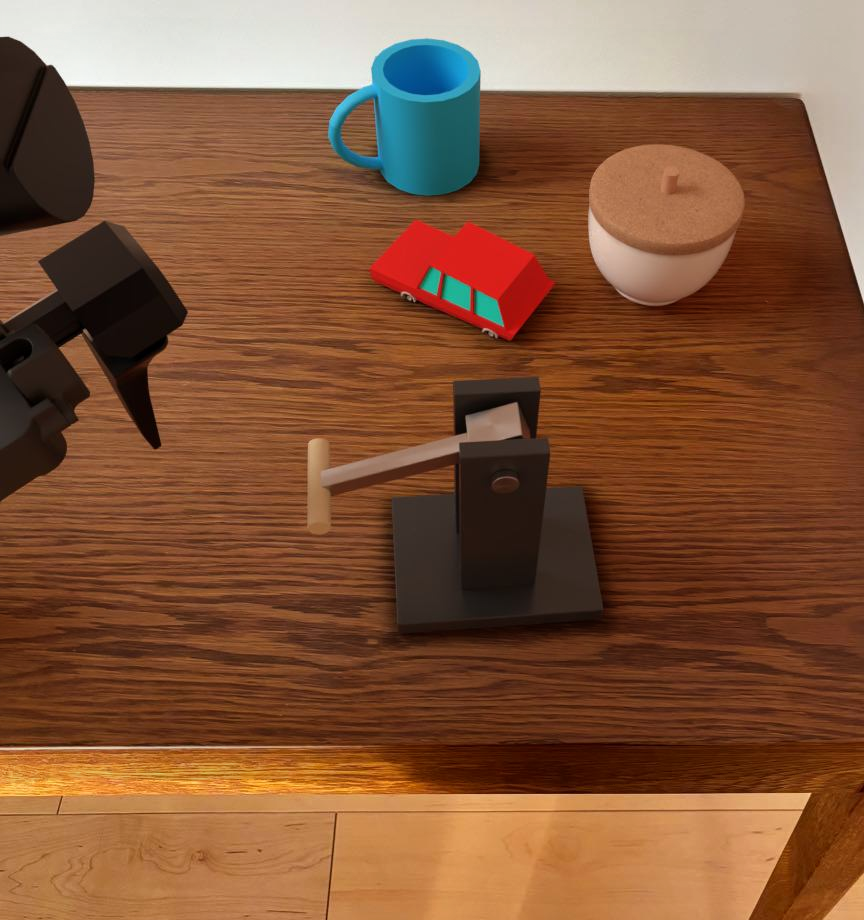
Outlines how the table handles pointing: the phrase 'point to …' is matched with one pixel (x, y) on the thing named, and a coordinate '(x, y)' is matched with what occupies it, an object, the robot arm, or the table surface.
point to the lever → (400, 461)
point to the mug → (420, 117)
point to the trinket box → (662, 221)
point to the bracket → (495, 532)
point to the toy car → (465, 276)
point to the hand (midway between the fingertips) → (75, 496)
